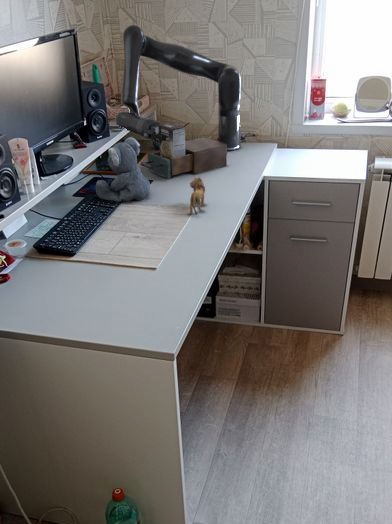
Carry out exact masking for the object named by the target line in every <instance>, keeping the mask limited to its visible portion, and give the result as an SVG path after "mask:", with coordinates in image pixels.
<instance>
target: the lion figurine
mask: <svg viewBox="0 0 392 524" xmlns="http://www.w3.org/2000/svg"><path fill="white" fill-rule="evenodd" d="M189 187H190V188H191V189H192V190H193V192H192V193H191V195H190V205H189V214H190V215H192V214H195V215H196V216H198V211H199V212H203V211H204V210H203V209H202V208H201V207H202V206H205V205H206V204H205V203H204V201H205V193H206V186H205V183H204V181H203V179H202V178H201V177H199V176H195V177H194V178H193V180H192V181H191V182H189ZM196 207H197V209H198V211H197V210H196Z"/></svg>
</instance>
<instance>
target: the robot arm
mask: <svg viewBox="0 0 392 524" xmlns="http://www.w3.org/2000/svg"><path fill="white" fill-rule="evenodd" d="M122 43H123V56H124V57H123V73H122V81H121V82H122V83H121V91H120V92H121V94H120V103H121V105H122V106H124V107H125V108H127V109H128V108H129V109H130V113H129V111H123V110H121V111H118V112H117V114H116V115H115V117H114V122H115V125H116V126H117V125H119V126H121V127H124V128H126V129H127V130H126V131H128V132H132V133H134V134H137V135H139V136H141V137H144V139H147V140H150V141H159V140H162V141H166V135H164V134H161V133H159V126H158V125H159V124H162V123H161V122H160V121H159V120H156V119H153V118H150V117H144V116H142V115H141V114H140V109H139V103H138V102H139V101H138V100H139V90H140V86H139V85H140V61H141V57H144V58H148V59H151V60H154V61H156V62H158V63H160V64H162V65H164V66H167V67H169V68H171V69H174V70H175V71H178V72H180V73H182V74H186V75H190V76H195V77H202V78H206V79H208V80H210V81H213V82H214V83H217V84H218V85H217V86H218V89H217V91H218V95H217V96H218V97H217V99H218V101H217V103H218V105H217V107H218V108H217V109H218V116H217V117H218V121H217V122H218V123H217V124H218V125H217V126H218V127H217V128H218V129H217V130H218V131H217V133H218V137H217V140H216V141H218V142H221V143H224V144H227V151H230V152H231V151H236V150H239V149H240V148H241V145H242V144H241V143H245V142H247V141H248V138H247V137H246V136H248V135H253V136H257V133H255V134H251V133H250V132H251V131H248V132H245V133H243V134H242V125H241V124H240V117H241V115H240V114H241V113H240V111H241V109H240V108H241V81H242V80H241V73H240V70H239V69H238V67H236V66H234V65H232V64H228V63H225V62H220V61H217V60H214V59H211V58H210V57H207V56H205V55H203V54H202V53H199V52H197V51H195V50H193V49H191V48H188V47H185V46H182V45H181V44H177V43H170V42H165V41H159V40H156V39H154V38H152V37H150V36H148V35H146V34H145V32H144V30H143V29H142V28H141V27H140V26H139V25H136V24H131V25H128V26H127V27H126V28H125V29H124V30H123V33H122Z"/></svg>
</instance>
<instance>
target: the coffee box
mask: <svg viewBox="0 0 392 524" xmlns="http://www.w3.org/2000/svg"><path fill="white" fill-rule="evenodd" d="M158 126H159V133H161V134H164V135H166V141H162V140H158V142H159V151H160V156H161V157H164V158H166V159H169V160H170V159H172V158H176V157H180V156H184V155H185V141H186V127H185V125H180V124H179V123H175V122H172V121H170V122H165V123H161V124H159V125H158ZM170 170H171V160H170Z"/></svg>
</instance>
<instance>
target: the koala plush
mask: <svg viewBox="0 0 392 524" xmlns="http://www.w3.org/2000/svg"><path fill="white" fill-rule="evenodd" d="M140 147H141V144H140V143H139V142H138V140H136V138H134V137H133V136H129V137H127V138H126V139H124V142H118V143H115V144H114V145H113V147H110V148H108V158H107V163H108V165H109V168H110V169H111V170H112V171H113V173H115V174H116V175H117V176H116V178H114V179H113V180H112V181H111V183H110V185H109V184H108V182H107V181H106V180H104V179H101V180H100V179H99V180H97V181H96V183H95V193H96V195H97V197H98V198H99V199H101V200H104V201H114V202H117V203H120V202H124V201H125V202H130V201H133V200H135V201H142V200H144V199H146V198H147V197H148V196H149V195H150V192H151V183H150V180H149V179H148V178H146V177H145V176H144V174H143V173H142V170H141V168H140V166H138V158H137V156H139V155H140V151H141V149H140Z"/></svg>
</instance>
